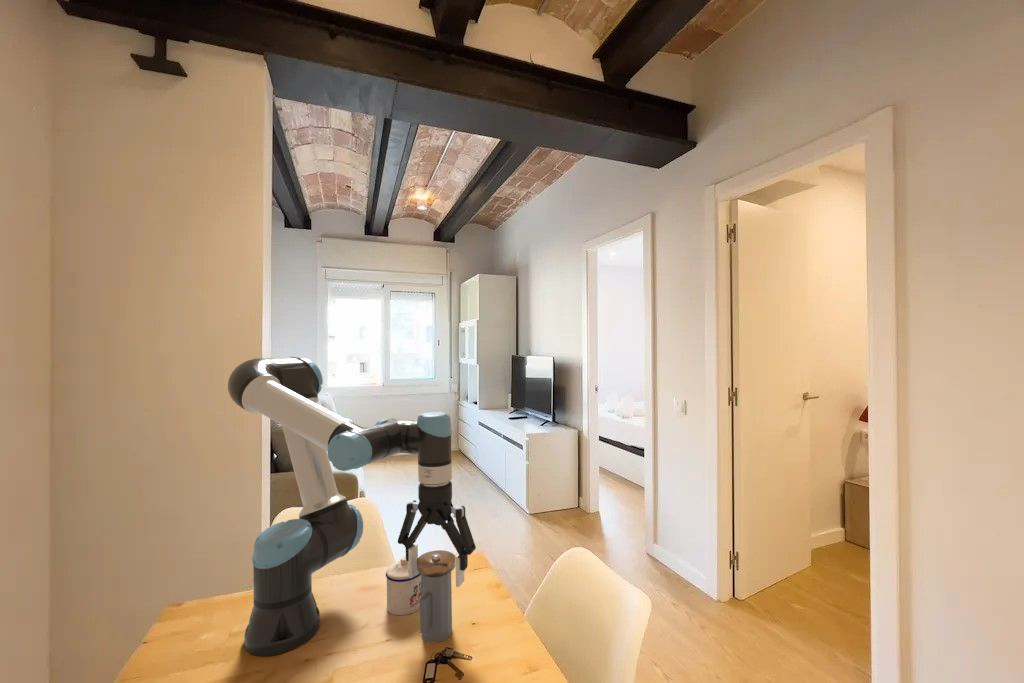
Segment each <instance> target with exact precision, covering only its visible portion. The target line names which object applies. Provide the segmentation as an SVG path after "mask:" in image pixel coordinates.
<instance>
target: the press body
mask: <svg viewBox="0 0 1024 683" xmlns="http://www.w3.org/2000/svg"><path fill="white" fill-rule="evenodd" d="M452 599H453V598H452V571H451V572H449V573H447V574H444V575H441V576H424V575H422V574H421V599H420V608H419V634H421V638H422V639H424V641H425V642H429V643H439V642H443V641H445V640H447V639H448V638H450V636H451V635H452V633H453V615H452V614H453V613H452V610H453V607H452V601H453V600H452Z"/></svg>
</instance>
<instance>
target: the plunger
mask: <svg viewBox="0 0 1024 683" xmlns="http://www.w3.org/2000/svg"><path fill="white" fill-rule="evenodd" d="M455 569H456V555H455V554H454V553H453V552H451V551H448V550H441V549H440V550H431V551H428V552H425V553H423V554H421V555H419V556H418V559H417V571H418V573H420V574H422V575H424V576H441V575H444V574H447V573H449V572H451V573H452V571H453V570H455Z"/></svg>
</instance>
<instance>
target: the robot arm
mask: <svg viewBox="0 0 1024 683" xmlns="http://www.w3.org/2000/svg"><path fill="white" fill-rule="evenodd" d="M323 379H324V378H323V375H322V372H321V370H320V368H319V366H318V365H317V364H316V363H315V362H314V361H313V360H311V359H309V358H306V357H297V356H290V357H270V358H269V357H268V358H266V357H265V358H263V357H262V358H261V357H260V358H251V359H248V360H246V361H243V362H241V363H240V364H239V365H237V366H236V367H235V368H234V370H232V372H231V374H230V376H229V378H228V381H227V391H228V393H229V396H230V398H231V399H232V401H233V402H234V404H236V405H237V406H238V407H240V408H242V409H243V410H245V411H246V412H249V413H251V414H261V415H263V416H265V417H267V418H269V419H270V420H272V421H273V422H276V423H278V424H279V425H281V426H282V431H283V434H284V438H285V443H286V446H287V450H288V453H289V457H290V461H291V466H292V468H293V472H294V475H295V480H296V484H297V488H298V491H299V495H300V498H301V503H302V507H301V508H302V509H301V510H300V512H299V514H298V518H294V519H288V520H286V521H281V522H278V523H275V524H274V525H271V526H269V527H268V528H266V529H264V530H262V531H261V533H260V534H259V535H258V536H257V537H256V538H255V541H254V544H253V552H252V558H251V559H252V560H251V561H252V564H253V571H252V572H253V573H252V574H253V577H252V578H253V607H252V610H251V613H250V617H249V620H248V624H247V626H246V628H245V631H244V640H243V641H244V644H243V645H244V648H245V651H247V652H248V653H249V654H251V655H254V656H260V657H268V656H275V655H280V654H283V653H287V652H291V651H292V650H294V649H297V648H299V647H300V646H302V645H304V644H305V643H307V642H308V641H310V640H311V639H312V638H313V637H314V636H315V635H316V634H317V632H318V631H319V628H320V626H321V612H320V609H319V607H318V605H317V601H316V598H315V597H314V594H313V590H312V588H313V587H312V580H313V579H312V574H314V573H316V572H317V571H318V570H321V569H322V568H324V567H326V566H327V565H329V564H330V563H332V562H334V561H335V560H337V559H339V558H341V557H344V556H346V555H347V554H348V553H349V552H351V551H352V550H353V549H355V548H356V547H357V546H358V544H359V542H360V541H361V539H362V536H363V533H364V520H363V515H362V513H361V511H360V510H359V508H357V507H356V506H355V505H353V504H351V503H348V500H347V497H346V496H344V495H343V494H340V493H339V490H338V488H337V487H338V486H337V484H336V480H335V477H334V473H333V470H332V467H331V464H332V466H333V468H334V469H336V470H339V471H342V472H346V471H350V470H355V469H356V470H357V469H360V468H363V467H364V466H367V465H370V464H372V463H375V462H378V461H380V460H383V459H386V458H388V457H389V458H390V457H391V456H394V455H398V454H409V455H410V454H411V455H417V466H418V467H417V469H418V472H417V473H418V474H417V476H418V479H417V480H418V482H419V484H418V485H417V489H418V491H417V492H418V493H417V494H418V497H417V498H418V502H417V500H416V499H415V500H411V501H410V502H408V503H406V514H405V517H404V519H403V523H402V527H401V529H400V532H399V536H398V539H397V543H398V544H399V545H403V546H404V548H405V557H406V561H409V578H413V577H414V576H415V575H416V574H417V573H418V571H417V559H418V557H419V553H418V552H419V548H418V547H419V546H418V544H417V543H416V542H417V539H418V538H419V536H420V534H421V533H422V532H423V529H424V528H425V526H426V525H435V526H439V527H441V528H442V530H444V531H445V533H446V535H447V536H448V539H449V540H450V542H451V543H452V545H453V547H454V549H455V550H456V553H457V555H455V587H457V588H460V587H461V585H463V583H464V582H465V571H466V569H468V566H469V564H468V563H469V562H468V558H469V557H468V555H469V556H470V555H472V553H473V552H474V551H476V549H477V547H476V543H475V540H474V538H473V534H472V532H471V529H470V525H469V522H468V519H467V516H466V507H465V505H461V506H459V507H458V506H454V505H453V502H452V500H453V499H452V498H453V483H452V481H451V480H453V469H452V468H453V466H452V463H453V462H452V434H453V431H452V422H451V416H450V414H449V413H446V412H444V411H443V412H442V411H436V412H434V411H432V412H431V411H429V412H423V413H420V414H419V415H418V416H417V419H416V420H405V419H396V418H389V419H385V418H384V419H379V420H378V421H377V422H376V423H375V424H374V425H371V426H367V427H363V426H361V425H358V424H356V423H354V422H353V421H350V420H348V419H346V418H345V417H343V416H341V415H339V414H338V413H335V412H333V411H331V410H330V409H327V408H326V407H324V406H322V405H319V403H318V402H319V396H318V395H319V394H320V392H321V391H322V389H323V386H322V385H323V383H324V382H323V381H324V380H323ZM418 511H419V513H420V515H421V516H420V517H419V519H418V520H417V523H416V525H415V527H414V528H413V530H412V526H413V523H414V520H415V518H416V514H417V512H418ZM452 514H453V516H452ZM453 518H455V520H454V519H453ZM455 522H456V524H455ZM411 530H412V531H411Z"/></svg>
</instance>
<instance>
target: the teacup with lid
mask: <svg viewBox="0 0 1024 683" xmlns="http://www.w3.org/2000/svg"><path fill="white" fill-rule="evenodd" d="M385 577H386V609H387V611H388V612H389V613H390V614H392V615H393V616H406V615H410V614H413V613H415V612H417V611H418V610H420V599H421V574H420V573H417V574H416V575H415V576H414V577H413V578H409V561H406V556H403V557H401V558H400V560H399V561H397V562H393V563H392V564H391V565H390V566H388V567H387V568H386V571H385Z"/></svg>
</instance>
